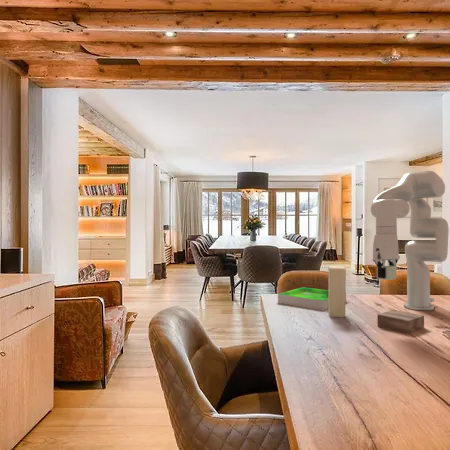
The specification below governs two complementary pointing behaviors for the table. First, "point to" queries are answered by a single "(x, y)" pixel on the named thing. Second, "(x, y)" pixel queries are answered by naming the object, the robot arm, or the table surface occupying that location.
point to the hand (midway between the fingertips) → (386, 276)
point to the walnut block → (400, 321)
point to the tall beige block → (336, 291)
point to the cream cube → (389, 272)
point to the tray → (306, 298)
